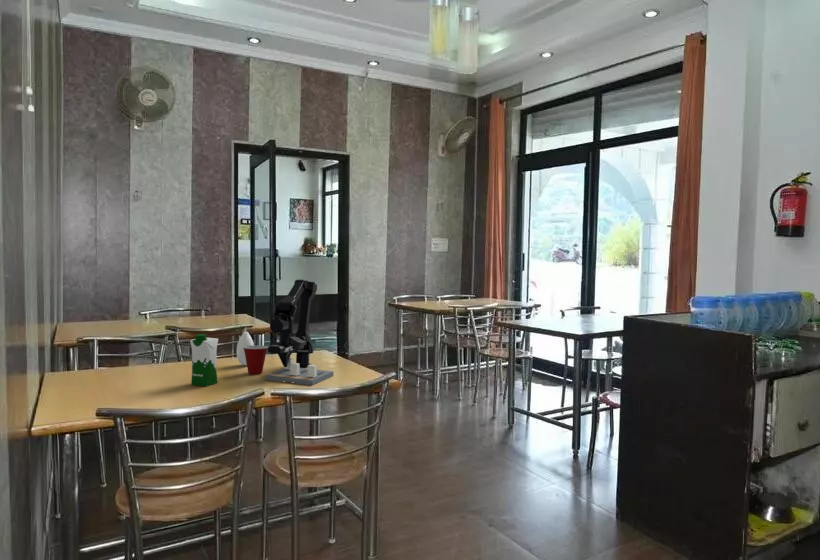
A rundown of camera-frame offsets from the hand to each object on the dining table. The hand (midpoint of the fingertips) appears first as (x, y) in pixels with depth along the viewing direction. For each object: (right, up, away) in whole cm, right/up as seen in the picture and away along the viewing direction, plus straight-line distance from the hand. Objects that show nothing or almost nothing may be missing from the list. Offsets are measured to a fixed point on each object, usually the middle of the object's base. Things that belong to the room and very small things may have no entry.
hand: (285, 367), depth 241 cm
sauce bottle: (-22, -2, +18) cm, 29 cm away
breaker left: (+13, -2, -10) cm, 17 cm away
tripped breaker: (+1, -1, +3) cm, 3 cm away
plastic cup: (-14, -3, +4) cm, 15 cm away
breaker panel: (+7, -4, -4) cm, 9 cm away
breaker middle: (+6, -2, -8) cm, 10 cm away
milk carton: (-28, -4, -17) cm, 33 cm away
